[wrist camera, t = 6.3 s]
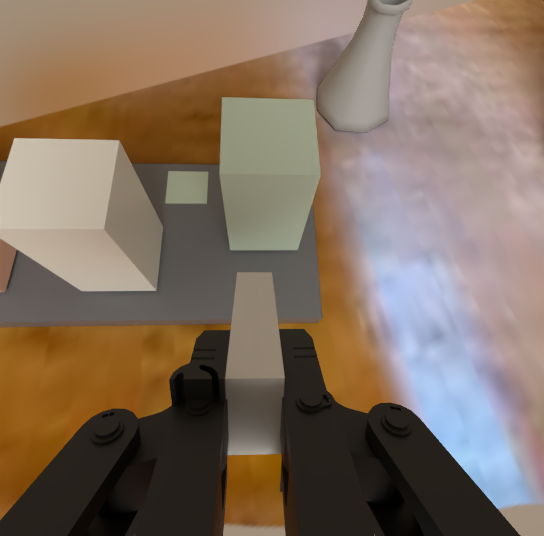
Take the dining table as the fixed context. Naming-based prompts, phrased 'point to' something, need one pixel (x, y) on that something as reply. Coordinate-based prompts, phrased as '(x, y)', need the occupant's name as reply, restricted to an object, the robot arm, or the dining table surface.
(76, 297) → the grey board
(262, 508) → the dining table surface
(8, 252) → the pink tall block
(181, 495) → the robot arm
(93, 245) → the cream tall block
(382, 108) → the flask
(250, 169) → the pale green tall block
